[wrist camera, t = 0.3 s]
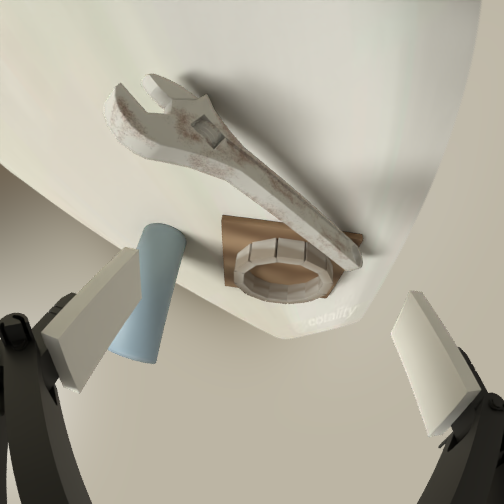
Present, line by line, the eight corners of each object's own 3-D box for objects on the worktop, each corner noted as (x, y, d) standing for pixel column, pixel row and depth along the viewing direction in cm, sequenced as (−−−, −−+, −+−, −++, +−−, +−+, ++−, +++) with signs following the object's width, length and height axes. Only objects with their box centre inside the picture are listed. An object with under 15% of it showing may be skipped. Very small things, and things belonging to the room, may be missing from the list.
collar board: (222, 215, 33) (217, 239, 31) (362, 234, 32) (364, 258, 31) (225, 281, 46) (222, 300, 44) (326, 293, 46) (326, 313, 44)
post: (138, 221, 36) (96, 342, 27) (183, 226, 35) (147, 355, 27) (149, 247, 41) (116, 355, 32) (189, 252, 40) (161, 366, 32)
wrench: (346, 235, 36) (135, 65, 18) (359, 230, 35) (148, 49, 17) (352, 295, 32) (87, 126, 14) (366, 291, 31) (99, 106, 13)
